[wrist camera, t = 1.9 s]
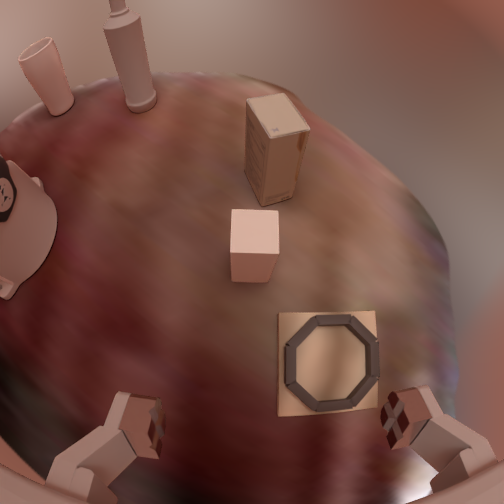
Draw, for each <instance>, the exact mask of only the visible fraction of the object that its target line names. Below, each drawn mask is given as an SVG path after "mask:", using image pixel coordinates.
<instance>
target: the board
mask: <svg viewBox="0 0 504 504" xmlns="http://www.w3.org/2000/svg"><path fill="white" fill-rule="evenodd" d="M378 377H380V367H379V342H377V336H376V319H375V311H360V312H318V313H278V393H277V415H278V417H281V416H302V415H316V414H327V413H337V412H346V411H354V410H361V409H368V408H374V407H377V403H378V380H379V379H378Z"/></svg>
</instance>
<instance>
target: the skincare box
mask: <svg viewBox="0 0 504 504" xmlns="http://www.w3.org/2000/svg"><path fill="white" fill-rule="evenodd" d="M309 133H310V127H309V126H308V124H307V123H306V121H305V120H304V118H303V117H302V115H301V114H300V113H299V111H298V110H297V109H296V107H295V106H294V105H293V103H292V102H291V101H290V100H289V98H288V97H287V96H286V95H285V94H284V93H279V94H272V95H266V96H260V97H254V98H249V99H247V100H246V130H245V164H244V171H245V173H246V176H247V178H248V180H249V183H250V185H251V187H252V189H253V191H254V193H255V195H256V197H257V199H258V201H259V203H260V205H261V206H266V205H270V204H273V203H277V202H280V201H283V200H286V199H289V198H292V195H293V192H294V188H295V185H296V181H297V177H298V173H299V170H300V166H301V162H302V159H303V155H304V151H305V148H306V144H307V140H308V136H309Z"/></svg>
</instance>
